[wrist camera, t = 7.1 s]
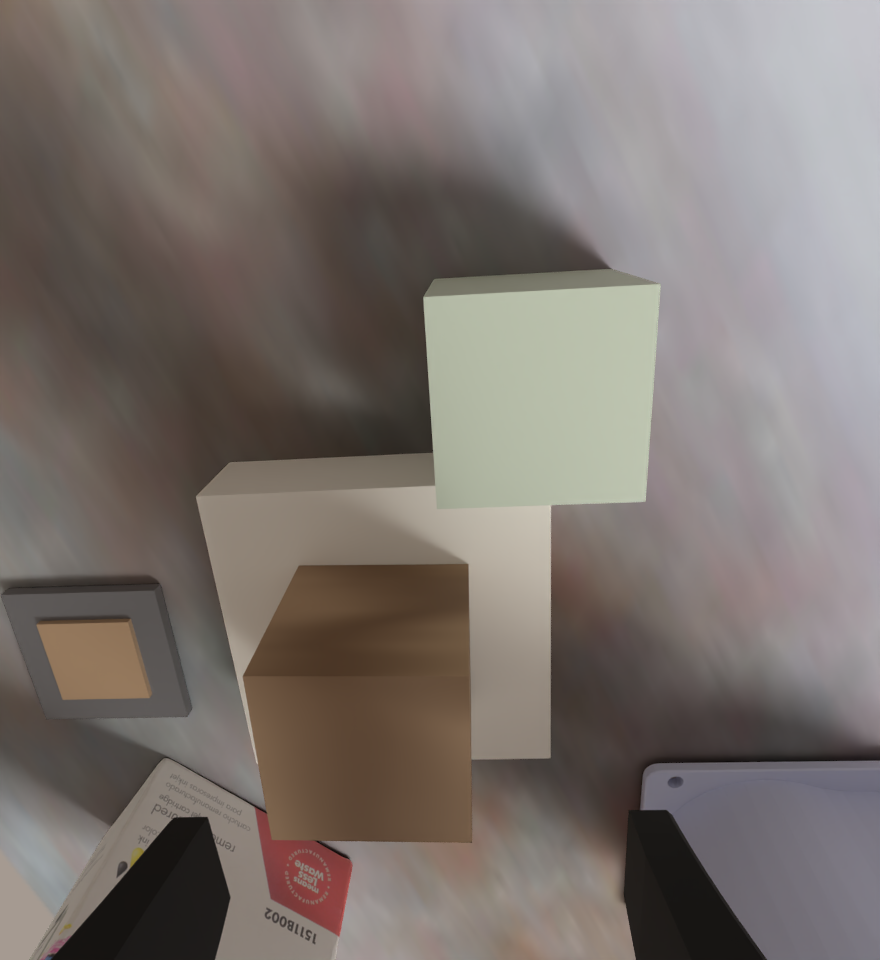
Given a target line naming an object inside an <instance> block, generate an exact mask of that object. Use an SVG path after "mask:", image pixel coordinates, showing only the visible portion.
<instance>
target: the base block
mask: <svg viewBox="0 0 880 960" xmlns="http://www.w3.org/2000/svg"><path fill="white" fill-rule="evenodd" d="M196 500H197V504H198V508H199V513H200V517H201V522H202V526H203V530H204V535H205V539H206V544H207V548H208V552H209V557H210V561H211V566H212V570H213V574H214V579H215V583H216V588H217V592H218V596H219V601H220V605H221V610H222V614H223V618H224V623H225V627H226V632H227V636H228V640H229V645H230V649H231V654H232V658H233V662H234V667H235V671H236V676H237V680H238V684H239V689H240V693H241V698H242V702H243V706H244V711H245V715H246V720H247V724H248V728H249V733H250V737H251V742H252V746H253V750H254V755H255V759H256V764H258V760H257V755H256V749H255V743H254V738H253V732H252V727H251V721H250V715H249V710H248V704H247V699H246V693H245V687H244V682H243V674H244V673H245V671H246V669H247V667H248V665H249V663H250V661H251V659H252V657H253V655H254V653H255V651H256V649H257V647H258V645H259V643H260V641H261V639H262V637H263V635H264V633H265V631H266V629H267V627H268V625H269V623H270V621H271V619H272V617H273V615H274V613H275V611H276V609H277V607H278V605H279V603H280V602H281V600H282V598H283V596H284V594H285V592H286V590H287V588H288V586H289V584H290V582H291V580H292V578H293V576H294V574H295V572H296V570H297V568H298V566H300V565H415V564H469V618H470V673H471V760H486V759H541V758H551V505H541V506H513V507H485V508H457V509H437V502H436V487H435V471H434V456H433V453H416V454H395V455H374V456H353V457H332V458H311V459H289V460H268V461H247V462H229V463H228V464H227V465H226V466H225V467H224V468H223V469H222V470H221V471H220V472H219V473H218V474H217V475H216V476H215V477H214V478H213V479H212V481H211V482H210V483H209V484H208V485H207V486H206V487H205V488H204V489H203V490H202V491H201V492H200V493H199V494H198V495H197V496H196Z"/></svg>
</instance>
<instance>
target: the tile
mask: <svg viewBox="0 0 880 960" xmlns="http://www.w3.org/2000/svg"><path fill="white" fill-rule="evenodd" d="M1 598H2V600H3V603H4V606H5V609H6V611H7V614H8V617H9V619H10V622H11V625H12V628H13V630H14V633H15V636H16V638H17V641H18V644H19V646H20V649H21V652H22V655H23V657H24V660H25V663H26V665H27V668H28V671H29V674H30V676H31V679H32V682H33V684H34V687H35V690H36V692H37V695H38V698H39V701H40V703H41V706H42V709H43V711H44V714H45V717H46V719H92V718H151V717H188V715H189V713H190V712H191V710H192V706H191V702H190V698H189V694H188V690H187V687H186V683H185V679H184V675H183V671H182V667H181V663H180V659H179V655H178V652H177V648H176V644H175V640H174V636H173V632H172V628H171V624H170V621H169V617H168V613H167V609H166V605H165V601H164V597H163V593H162V589H161V586H160V584H139V585H105V586H71V587H37V588H9V589H8V590H6V591H5V592H4V593H3V594H1Z"/></svg>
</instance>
